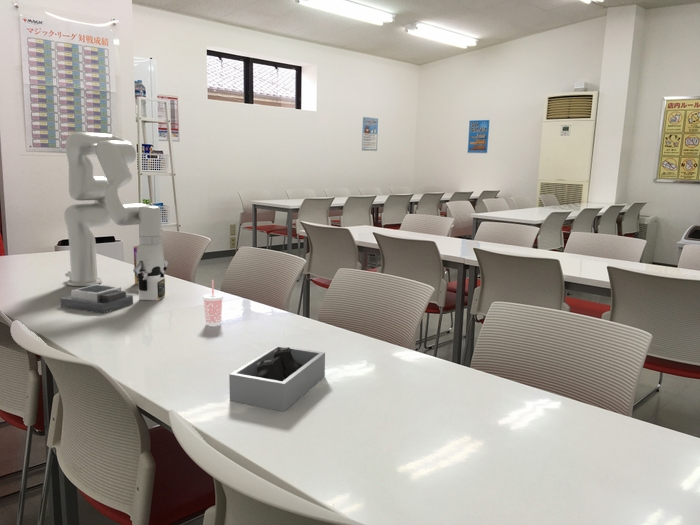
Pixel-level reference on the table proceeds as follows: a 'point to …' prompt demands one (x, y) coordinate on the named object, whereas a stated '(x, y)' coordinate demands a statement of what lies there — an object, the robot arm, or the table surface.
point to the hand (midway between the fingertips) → (151, 287)
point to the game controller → (278, 366)
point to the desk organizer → (273, 391)
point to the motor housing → (97, 298)
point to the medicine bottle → (153, 286)
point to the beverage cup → (213, 307)
